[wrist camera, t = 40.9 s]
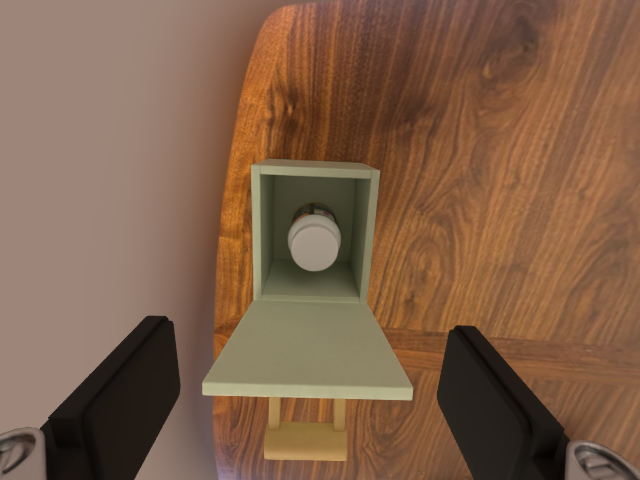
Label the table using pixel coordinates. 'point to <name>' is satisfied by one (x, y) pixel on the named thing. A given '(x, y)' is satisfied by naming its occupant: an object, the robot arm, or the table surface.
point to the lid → (308, 369)
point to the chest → (276, 216)
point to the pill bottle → (314, 237)
